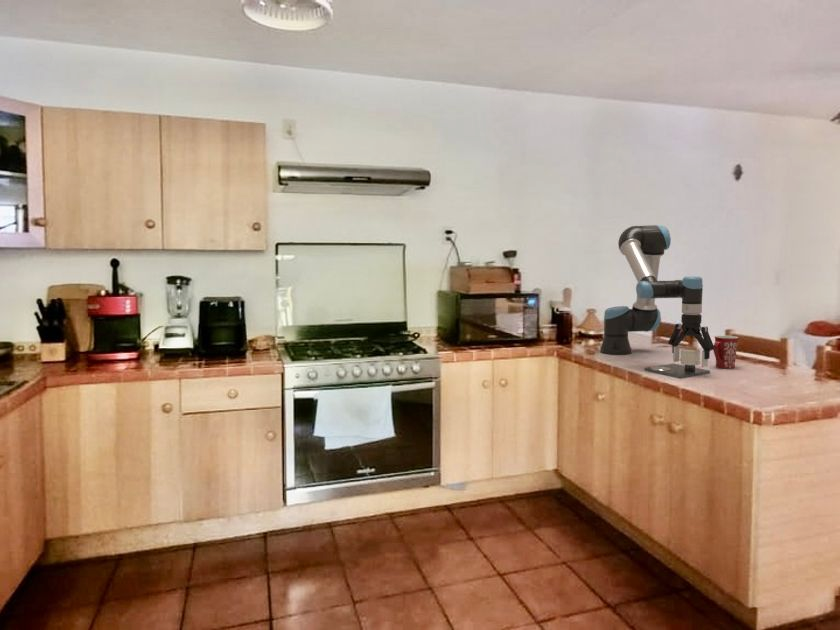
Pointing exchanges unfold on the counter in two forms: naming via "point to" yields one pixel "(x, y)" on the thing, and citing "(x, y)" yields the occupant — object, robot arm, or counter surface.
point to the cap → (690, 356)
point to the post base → (677, 370)
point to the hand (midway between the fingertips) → (690, 364)
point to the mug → (725, 351)
